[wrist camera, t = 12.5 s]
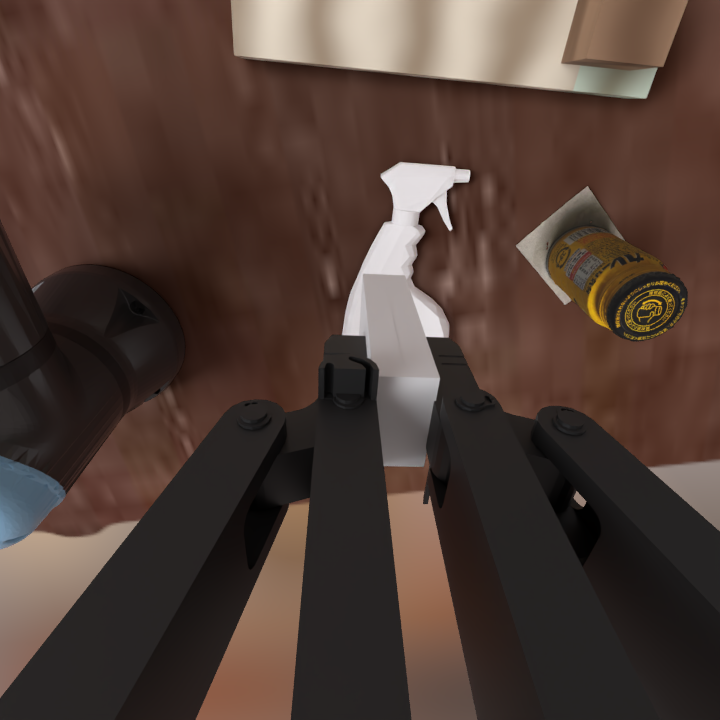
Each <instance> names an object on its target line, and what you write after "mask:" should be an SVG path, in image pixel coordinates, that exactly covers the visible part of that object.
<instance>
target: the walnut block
mask: <svg viewBox="0 0 720 720" xmlns="http://www.w3.org/2000/svg"><path fill="white" fill-rule="evenodd" d="M687 2H688V0H578V2H577V6H576V9H575V13H574V17H573V20H572V24H571V28H570V31H569V35H568V39H567V42H566V46H565V50H564V53H563V57H562V61H561V63H563V64H572V65H581V66H591V67H600V68H609V69H619V70H628V71H631V70H639V69H648V68H657V67H663V66H664V63H665V60H666V58H667V55H668V52H669V50H670V47H671V45H672V42H673V39H674V37H675V34H676V31H677V29H678V26H679V23H680V21H681V18H682V15H683V13H684V10H685V8H686V5H687Z"/></svg>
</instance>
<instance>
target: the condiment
mask: <svg viewBox="0 0 720 720" xmlns="http://www.w3.org/2000/svg"><path fill="white" fill-rule="evenodd" d="M590 221H592V223H590ZM547 242H549V244H548V246H547ZM516 247H517V248H518V249H519V250H520V252H521V253H522V254H523V255H524V256H525V258H526V259H527V260H528V261H529V262H530V263H531V265H532V266H533V267H534V268H535V270H536V271H537V272H538V273H539V274H540V276H541V277H542V278H543V279H544V280H545V282H546V283H547V284H548V285H549V286H550V288H551V289H552V290H553V291H554V292H555V294H556V295H557V296H558V297H559V298H560V300H561V301H562V302H563V303H564V304H565V305H566V304H567V303H569V302H570V301H571V300H573V302H574V303H576V304H577V305H578V306H579V307H580V308H581V309H582V310H583V311H584V312H585V313H586V314H587V315H588V316H589V317H590V318H591V319H592V320H593V321H594V322H596V323H598V324H599V325H601V326H604V327H606V328H609V329H610V330H612V331H613V333H615V334H616V335H617V336H619V337H621V338H624V339H628V340H630V341H636V342H637V341H644V340H649V339H652V338H655V337H657V336H659V335H661V334H663V333H664V332H666V331H667V330H669V329H670V328H673V327H674V325H675V323H676V322H677V321H679V319H680V318H681V317H682V315H683V313H684V311H685V308H686V307H687V296H688V292H687V289H686V287H685V286H684V284H683V282H682V281H680V278H678V277H676V276H675V275H674V274H670V273H669V272H668V270H667V268H666V267H665V266H664V265H663V263H662V262H661V261H660V260H659V259H657V258H656V257H654V256H651V255H650V254H648V253H646V252H644V251H642V250H640V249H639V248H637V247H635V246H633V245H631V244H629V243H628V242H626V241H625V240H624V239H623V237H622V236H621V234H620V233H619V232H618V230H617V229H616V227H615V226H614V224H613V223H612V221H611V220H610V218H609V217H608V215H607V214H606V212H605V211H604V210H603V208H602V207H601V205H600V204H599V202H598V201H597V199H596V198H595V196H594V195H593V193H592V192H591V190H590V189H589V188H588V186H587V187H586V188H585V189H583V190H582V191H581V192H580V193H579V194H577V195H575V196H574V197H573V198H572V199H571V200H569V201H568V202H567V203H566V204H565V205H564V206H562V207H561V208H560V209H558V210H557V211H556V212H555V213H554V214H552V215H551V216H550V217H549V218H548V219H547V220H545V221H544V222H542V224H541V225H540V226H538V227H537V228H536V229H535V230H534V231H532V232H531V233H530V234H529V235H527V237H525V238H524V239H523V240H522V241H521V242H520V243H518V244H517V245H516ZM547 247H548V250H546V248H547Z"/></svg>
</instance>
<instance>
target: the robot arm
mask: <svg viewBox="0 0 720 720" xmlns="http://www.w3.org/2000/svg"><path fill="white" fill-rule="evenodd" d="M184 355H185V341H184V336H183V332H182V329H181V326H180V324H179V322H178V320H177V318H176V316H175V314H174V313H173V311H172V310H171V308H170V307H169V306H168V305H167V303H166V302H165V301H164V300H163V299H162V298H161V297H160V296H159V295H158V294H157V293H156V292H155V291H154V290H153V289H151V288H150V287H149V286H147V285H146V284H144V283H143V282H141V281H140V280H138V279H136V278H135V277H133V276H131V275H129V274H126V273H124V272H121V271H119V270H116V269H113V268H109V267H104V266H98V265H76V266H71V267H67V268H64V269H61V270H59V271H57V272H55V273H54V274H52V275H50V276H48V277H46V278H45V279H43V280H41V281H40V282H39V283H37V284H36V285H35V286H34V287H33V288H32V289H31V287H30V285H29V283H28V280H27V278H26V276H25V274H24V272H23V270H22V267H21V265H20V263H19V261H18V258H17V256H16V254H15V252H14V249H13V247H12V245H11V243H10V240H9V238H8V236H7V234H6V231H5V229H4V227H3V225H2V222H1V220H0V549H3V548H6V547H9V546H11V545H14V544H16V543H18V542H19V541H21V540H22V539H24V538H26V537H27V536H28V535H30V534H31V533H32V532H33V531H34V530H35V529H36V527H37V526H38V525H39V524H40V523H41V522H42V520H43V519H44V518H45V517H46V516H47V515H48V513H49V512H50V511H51V510H52V509H53V508H54V507H56V506H57V505H59V504H60V503H61V502H62V501H63V499H64V497H65V496H66V494H67V492H68V491H69V490H70V488H71V487H72V486H73V484H74V483H75V481H76V480H77V479H78V477H79V476H80V475H81V473H82V472H83V471H84V469H85V468H86V466H87V465H88V464H89V462H90V461H91V460H92V458H93V457H94V455H95V454H96V453H97V451H98V450H99V449H100V447H101V446H102V445H103V443H104V442H105V440H106V439H107V438H108V436H109V435H110V434H111V432H112V431H113V429H114V428H115V427H116V425H117V424H118V423H119V421H120V420H121V419H122V417H123V416H124V415H125V414H126V413H128V412H130V411H132V410H133V409H135V408H137V407H138V406H140V405H141V404H143V403H144V402H146V401H148V400H150V399H152V398H154V397H156V396H157V395H159V394H160V393H161V392H163V391H164V390H165V389H166V388H167V387H168V386H169V385H170V383H171V382H172V380H173V379H174V378H175V376H176V375H177V373H178V372H179V370H180V368H181V366H182V363H183V360H184ZM426 452H427V455H428V459H429V463H430V466H429V471H428V477H427V482H426V487H425V492H424V500H423V504H428V500H429V496H430V497H431V502H432V507H433V511H434V516H435V521H436V526H437V530H438V535H439V540H440V545H441V549H442V554H443V559H444V563H445V568H446V573H447V578H448V582H449V587H450V592H451V597H452V601H453V606H454V611H455V615H456V620H457V625H458V629H459V634H460V639H461V644H462V648H463V653H464V658H465V662H466V667H467V671H468V677H469V681H470V686H471V690H472V696H473V700H474V705H475V710H476V714H477V719H478V720H720V531H719V530H717V529H716V528H715V527H714V526H713V525H712V524H711V523H709V522H708V521H707V520H706V519H705V518H704V517H703V516H701V515H700V514H699V513H698V512H697V511H696V510H695V509H693V508H692V507H691V506H690V505H689V504H688V503H687V502H686V501H684V500H683V499H682V498H681V497H680V496H679V495H678V494H677V493H675V492H674V491H673V490H672V489H671V488H669V486H667V485H666V484H665V483H664V482H663V481H662V480H661V479H659V478H658V477H657V476H656V475H655V474H654V473H653V472H652V471H650V470H649V469H648V468H647V467H646V466H645V465H644V464H642V463H641V462H640V461H639V460H638V459H637V458H636V457H635V456H633V455H632V454H631V453H630V452H629V451H628V450H627V449H625V448H624V447H623V446H622V445H621V444H620V443H619V442H618V441H616V440H615V439H614V438H613V437H612V436H611V435H610V434H608V433H607V432H606V431H605V430H604V429H603V428H602V427H600V426H599V425H598V424H597V423H596V422H595V421H594V420H592V419H591V418H589V417H588V416H586V415H585V414H583V413H581V412H579V411H576V410H574V409H572V408H568V407H562V406H548V407H545V408H542V409H541V410H540V411H539V412H538V413H537V416H536V419H535V420H533V419H529V418H525V417H520V416H516V415H512V414H509V413H506V412H504V411H503V409H502V407H501V405H500V403H499V402H498V401H497V400H496V398H495V397H494V396H492V395H491V394H489V393H487V392H486V391H483V390H480V389H479V387H478V385H477V383H476V381H475V379H474V376H473V374H472V372H471V370H470V368H469V366H467V361H466V359H465V358H464V355H463V353H462V351H461V349H460V346H458V345H457V344H456V343H455V342H453V341H452V340H451V339H450V338H444V337H426V336H425V333H424V330H423V327H422V324H421V321H420V318H419V315H418V312H417V309H416V306H415V304H414V301H413V298H412V295H411V292H410V289H409V286H408V283H407V280H406V277H405V275H384V274H363V278H362V294H361V311H360V327H359V336H353V335H332V336H331V337H330V338H329V339H328V340H327V341H326V342H325V346H324V358H323V361H322V362H321V364H320V366H319V386H318V399H317V400H316V401H315V402H314V403H313V404H311V405H310V406H308V407H306V408H303V409H300V410H297V411H292V412H287V413H285V412H284V410H283V408H282V407H280V406H279V405H278V404H277V403H274V402H271V401H268V400H256V399H255V400H249V401H243V402H241V403H239V404H236V405H234V406H232V407H231V408H230V409H229V410H228V411H226V412H225V413H224V415H223V416H222V417H221V418H220V420H219V421H218V422H217V424H216V425H215V426H214V427H213V429H212V430H211V431H210V432H209V434H208V435H207V436H206V437H205V439H204V440H203V441H202V443H201V444H200V445H199V446H198V448H197V449H196V450H195V451H194V453H193V454H192V455H191V457H190V458H189V459H188V460H187V462H186V463H185V464H184V465H183V467H182V468H181V469H180V471H179V472H178V473H177V474H176V476H175V477H174V478H173V479H172V481H171V482H170V483H169V484H168V486H167V487H166V488H165V490H164V491H163V492H162V493H161V495H160V496H159V497H158V498H157V500H156V501H155V502H154V504H153V505H152V506H151V507H150V509H149V510H148V511H147V512H146V514H145V515H144V516H143V517H142V519H141V520H140V521H139V523H138V524H137V525H136V526H135V528H134V529H133V530H132V531H131V533H130V534H129V535H128V537H127V538H126V539H125V540H124V542H123V543H122V544H121V545H120V547H119V548H118V549H117V551H116V552H115V553H114V554H113V556H112V557H111V558H110V559H109V561H108V562H107V563H106V564H105V566H104V567H103V568H102V570H101V571H100V572H99V573H98V575H97V576H96V577H95V579H94V580H93V581H92V582H91V584H90V585H89V586H88V587H87V589H86V590H85V591H84V593H83V594H82V595H81V596H80V598H79V599H78V600H77V601H76V603H75V604H74V605H73V606H72V608H71V609H70V610H69V612H68V613H67V614H66V615H65V617H64V618H63V619H62V620H61V622H60V623H59V624H58V626H57V627H56V628H55V629H54V631H53V632H52V633H51V634H50V636H49V637H48V638H47V639H46V641H45V642H44V643H43V644H42V646H41V647H40V648H39V650H38V651H37V652H36V653H35V655H34V656H33V657H32V659H31V660H30V661H29V662H28V664H27V665H26V666H25V668H24V669H23V670H22V671H21V672H20V674H19V675H18V677H17V678H16V679H15V680H14V682H13V683H12V684H11V685H10V687H9V688H8V689H7V690H6V691H5V693H4V694H3V695H2V697H1V698H0V720H196V717H197V715H198V713H199V710H200V708H201V706H202V704H203V701H204V699H205V697H206V694H207V692H208V690H209V688H210V685H211V683H212V681H213V679H214V676H215V674H216V672H217V669H218V667H219V665H220V663H221V660H222V658H223V656H224V654H225V651H226V649H227V647H228V644H229V642H230V640H231V638H232V635H233V633H234V631H235V629H236V626H237V624H238V622H239V619H240V617H241V615H242V613H243V610H244V608H245V606H246V603H247V601H248V599H249V597H250V594H251V592H252V590H253V588H254V585H255V583H256V581H257V578H258V576H259V574H260V572H261V569H262V567H263V565H264V563H265V560H266V558H267V556H268V553H269V551H270V549H271V547H272V544H273V542H274V540H275V538H276V535H277V533H278V531H279V528H280V526H281V524H282V522H283V519H284V517H285V515H286V513H287V510H288V507H289V503H291V502H295V501H299V500H302V499H306V498H310V503H309V515H308V526H307V538H306V549H305V561H304V573H303V584H302V596H301V608H300V620H299V631H298V643H297V654H296V666H295V678H294V690H293V701H292V712H291V720H411V711H410V702H409V693H408V684H407V675H406V666H405V656H404V647H403V638H402V629H401V620H400V611H399V601H398V592H397V583H396V574H395V565H394V557H393V547H392V537H391V529H390V519H389V510H388V501H387V492H386V482H385V473H384V466H412V467H424V463H425V458H426ZM576 491H578V492H579V494H580V495H581V496H582V497H583V498H584V499H585V500H586V501H587V502H586V504H585V506H584V507H582V506H580V505H579V504H578V503H577V502H576V501H575V500H574V498H573V497H574V495H575V493H576Z"/></svg>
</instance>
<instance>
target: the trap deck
mask: <svg viewBox="0 0 720 720" xmlns="http://www.w3.org/2000/svg"><path fill="white" fill-rule="evenodd" d="M577 2H578V0H231V8H232V27H233V45H234V56H237V57H240V58H243V59H253V60H262V61H272V62H281V63H291V64H301V65H310V66H320V67H329V68H339V69H349V70H358V71H368V72H377V73H387V74H396V75H406V76H416V77H425V78H435V79H444V80H454V81H464V82H473V83H483V84H492V85H502V86H511V87H521V88H531V89H540V90H550V91H559V92H569V93H579V94H588V95H598V96H607V97H617V98H626V99H646V98H647V95H648V93H649V90H650V87H651V85H652V82H653V79H654V76H655V74H656V71H657V68H658V67H657V68H648V69H639V70H631V71H628V70H619V69H609V68H600V67H591V66H581V65H572V64H563V63H561V61H562V57H563V53H564V50H565V46H566V42H567V39H568V35H569V31H570V28H571V24H572V20H573V17H574V13H575V9H576V6H577Z"/></svg>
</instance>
